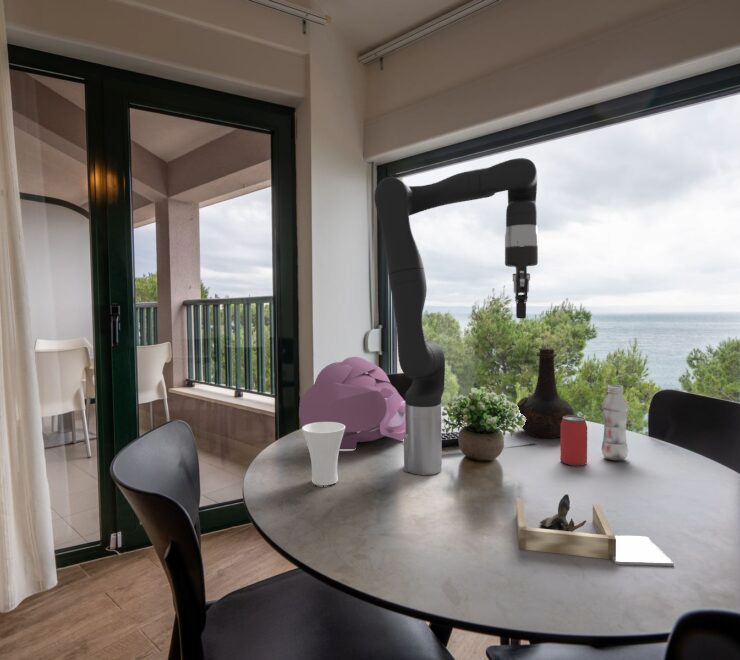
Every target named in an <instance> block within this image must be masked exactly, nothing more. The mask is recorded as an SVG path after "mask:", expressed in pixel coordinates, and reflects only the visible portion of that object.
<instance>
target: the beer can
mask: <svg viewBox="0 0 740 660" xmlns="http://www.w3.org/2000/svg"><path fill="white" fill-rule="evenodd" d="M559 449H560V455H559V457H560V461H561V462H562V463H563V464H565V465H569V466H576V467H579V466H584V465H586V464H587V463H588V425H587V422H586V418H585V417H584V416H583V417H582V416H578V415H575V416H564V417H563V420H562V422H561V436H560V448H559Z"/></svg>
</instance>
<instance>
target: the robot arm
mask: <svg viewBox="0 0 740 660" xmlns="http://www.w3.org/2000/svg"><path fill="white" fill-rule="evenodd" d="M537 171H538V169H537V167H536V165H535V163H534V162H533V161H532V160H531V159H528V158H526V157H525V158H524V157H517V158H512V159H507V160H505V161H502V162H499V163H496V164H494V165H491V166H489V167H483V168H477V169H472V170H466V171H463V172H459V173H457V174H453V175H451V176H448V177H446V178H444V179H442V180H439V181H437V182H433V183H430V184H425V185H414V186H411V185H410V186H409V185H408V184H406V183H405V182H404V181H403V180H402V179H399V178H398V177H394V176H388V177H387V176H386V177H385V178H383V179H381V180H380V181H379V183H378V184H377V186H376V188H375V190H374V197H373V199H374V205H375V208H376V212H377V216H378V221H379V223H380V227H381V231H382V236H383V245H384V251H385V252H384V254H385V260H386V266H387V273H388V279H389V287H390V288H389V289H390V293H391V297H392V304H393V311H394V317H395V326H396V337H397V342H396V343H397V355H398V362H399V366H400V369H401V371H402V372H403V374H404V375H405V376H406V377H407V378H409V379H412V383H411V385H410V386H409V388H408V389H407V391H406V392H405V394H404V395H405V396H404V401H405V426H406V433H405V434H404V441H403V471H404V472H405V473H411V474H414V475H421V476H427V475H428V476H430V475H435V474H439V473H440V472H441V471H442V470H443V469H442V464H443V461H442V458H443V457H442V454H443V453H442V452H443V451H442V448H443V447H442V440H443V439H442V397H443V394H444V392H445V391H444V390H445V379H446V378H445V377H446V376H445V375H446V373H445V372H446V360H445V359H446V357H445V353H444V351H443V348H442V346H441V345H439V344H438V343H437V342H435V341H434V340H425V333H424V327H423V313H424V312H423V311H424V307H425V304H426V303H425V302H426V298H427V297H426V296H427V287H428V286H427V279H426V273H425V267H424V263H423V259H422V256H421V253H420V250H419V249H418V245H417V243H416V240H415V237H414V235H413V232H412V228H411V223H410V222H411V221H410V216H413V215H415V214H419V213H420V212H424V211H428V210H430V209H434V208H438V207H443V206H445V205H446V206H447V205H452V204H457V203H463V202H469V201H474V200H475V201H476V200H481V199H487V198H490V197H493V196H494V195H495V194H497V193H501V192H506V191H507V206H506V214H505V234H504V266H506V267H508V268H509V267H510V268H511V267H512V268H515V273H512V282H513V293H514V294H515V296H514V299H515V300H514V301H515V304H516V305H515V315H516V316H515V317H516V318H517V319H526V318H527V301H528V293H529V292H530V281H531V273H528V267H534V266H535V267H536V266H537V265H538V261H539V255H538V254H539V245H538V243H539V240H538V239H539V236H538V235H539V234H538V225H537V223H538V220H537V219H538V214H537V213H538V211H537V205H536V203H537V194H538V193H537V191H538V172H537Z"/></svg>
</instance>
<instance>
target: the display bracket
mask: <svg viewBox="0 0 740 660" xmlns="http://www.w3.org/2000/svg"><path fill="white" fill-rule="evenodd" d="M515 504H516V506H515V507H516V524H517V526H516V527H517V538H518V550H525V551H533V552H534V551H535V552H543V553H551V554H560V555H569V556H577V557H588V558H595V559H596V558H597V559H606V560H612V557H616V538H615V536H616V535H615V534H614V532H613V530H612V527H611V526H610V523H609V522H608V520H607V517H606V516H605V512H604V511H603V509H602V508H601V505H600V504H597V503H596V504H595V503H593V504H592V524H593V526H594V529H595V531H596V533H587V532H581V531H579V532H578V531H577V532H576V531H573V532H570V531H560V530H558V529H549V528H548V529H547V528H537V527H530V526H529V527H528V526H527V523H526V517H525V507H524V499H523V497H516V503H515Z"/></svg>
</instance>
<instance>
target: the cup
mask: <svg viewBox="0 0 740 660" xmlns="http://www.w3.org/2000/svg"><path fill="white" fill-rule="evenodd" d="M344 430H345V425H343V424H341V423H336V422H317V423H311V424H307V425H305V426H302V427H301V431H302V433H303V436H304V439H305V443H306V446H307V448H308V451H309V456H310V462H311V480H312V482H313V483H315V484H319V485H328V484H333V483H336V482H337V481H338V482H339V477H338V476H339V475H338V462H339V461H338V458H339V453H340V451H339V448H340V445H341V441H342V437H343V434H344ZM336 484H337V483H336Z"/></svg>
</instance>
